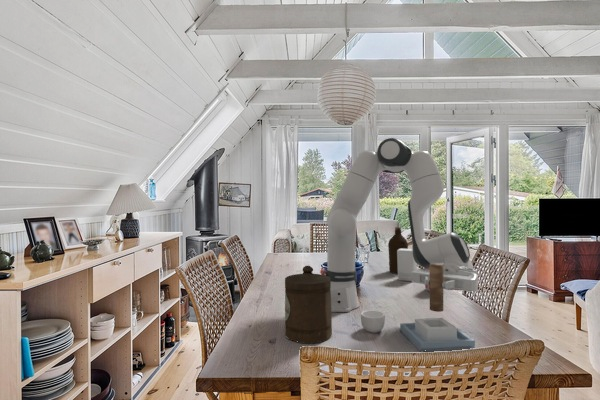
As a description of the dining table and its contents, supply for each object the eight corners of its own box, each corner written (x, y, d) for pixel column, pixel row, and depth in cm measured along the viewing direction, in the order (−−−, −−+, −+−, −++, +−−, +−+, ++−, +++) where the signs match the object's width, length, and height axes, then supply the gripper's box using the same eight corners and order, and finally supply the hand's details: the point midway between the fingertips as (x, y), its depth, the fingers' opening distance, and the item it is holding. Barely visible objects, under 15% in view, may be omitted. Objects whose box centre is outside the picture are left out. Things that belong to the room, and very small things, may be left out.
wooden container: (296, 324, 130) (295, 260, 129) (337, 329, 124) (337, 263, 123) (277, 339, 116) (276, 269, 115) (322, 347, 110) (322, 272, 110)
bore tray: (421, 352, 106) (421, 334, 106) (400, 331, 122) (400, 315, 122) (474, 349, 108) (474, 331, 108) (447, 328, 124) (447, 313, 124)
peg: (433, 311, 114) (433, 265, 113) (427, 307, 118) (427, 263, 117) (445, 311, 114) (445, 265, 114) (439, 307, 118) (439, 262, 118)
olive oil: (411, 271, 210) (410, 227, 210) (403, 275, 202) (403, 228, 202) (393, 269, 217) (393, 226, 216) (385, 272, 209) (384, 227, 208)
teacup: (382, 336, 118) (382, 319, 118) (358, 332, 121) (358, 316, 121) (388, 325, 127) (388, 309, 127) (365, 322, 130) (365, 307, 130)
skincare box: (417, 279, 192) (417, 249, 192) (413, 282, 187) (413, 250, 186) (400, 277, 197) (400, 247, 196) (396, 280, 191) (396, 249, 191)
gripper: (419, 263, 132) (403, 269, 121) (482, 270, 119) (470, 278, 108) (419, 280, 132) (403, 289, 121) (482, 290, 119) (470, 300, 109)
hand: (435, 284), depth 115 cm, fingers closed on peg, 4 cm apart
